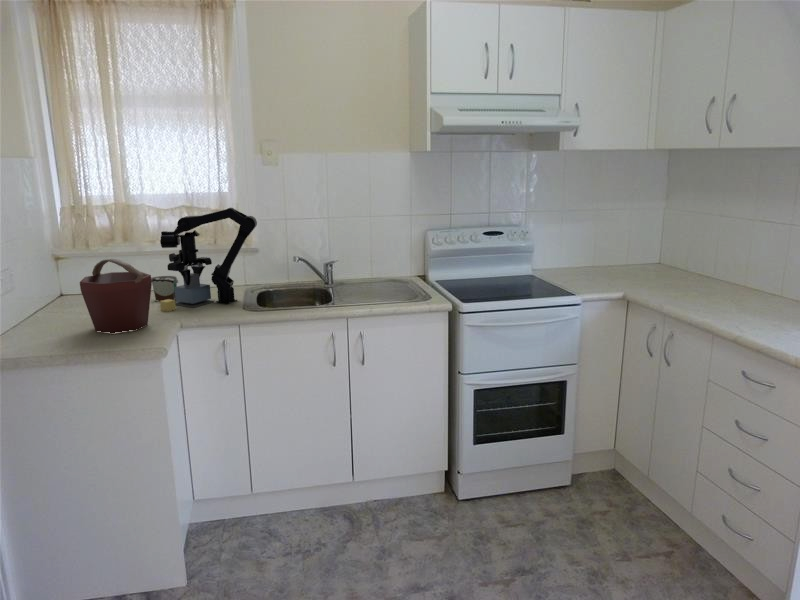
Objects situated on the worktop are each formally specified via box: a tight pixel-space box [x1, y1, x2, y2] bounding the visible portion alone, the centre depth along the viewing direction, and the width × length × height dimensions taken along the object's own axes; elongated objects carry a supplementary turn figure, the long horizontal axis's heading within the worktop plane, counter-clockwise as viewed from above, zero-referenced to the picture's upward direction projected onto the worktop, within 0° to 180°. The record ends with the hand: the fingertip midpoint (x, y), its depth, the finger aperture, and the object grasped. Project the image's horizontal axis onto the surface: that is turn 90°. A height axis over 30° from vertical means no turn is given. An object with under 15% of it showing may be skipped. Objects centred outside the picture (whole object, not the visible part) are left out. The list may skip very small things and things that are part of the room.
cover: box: [174, 272, 212, 304], centre depth 242 cm, size 10×10×11 cm
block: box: [159, 299, 177, 313], centre depth 232 cm, size 4×4×4 cm
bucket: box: [79, 258, 153, 333], centre depth 205 cm, size 24×22×25 cm
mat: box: [175, 299, 215, 309], centre depth 244 cm, size 12×12×1 cm
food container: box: [151, 275, 179, 302], centre depth 250 cm, size 12×6×10 cm, turn 74°
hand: (192, 284), depth 242 cm, fingers closed on cover, 4 cm apart
